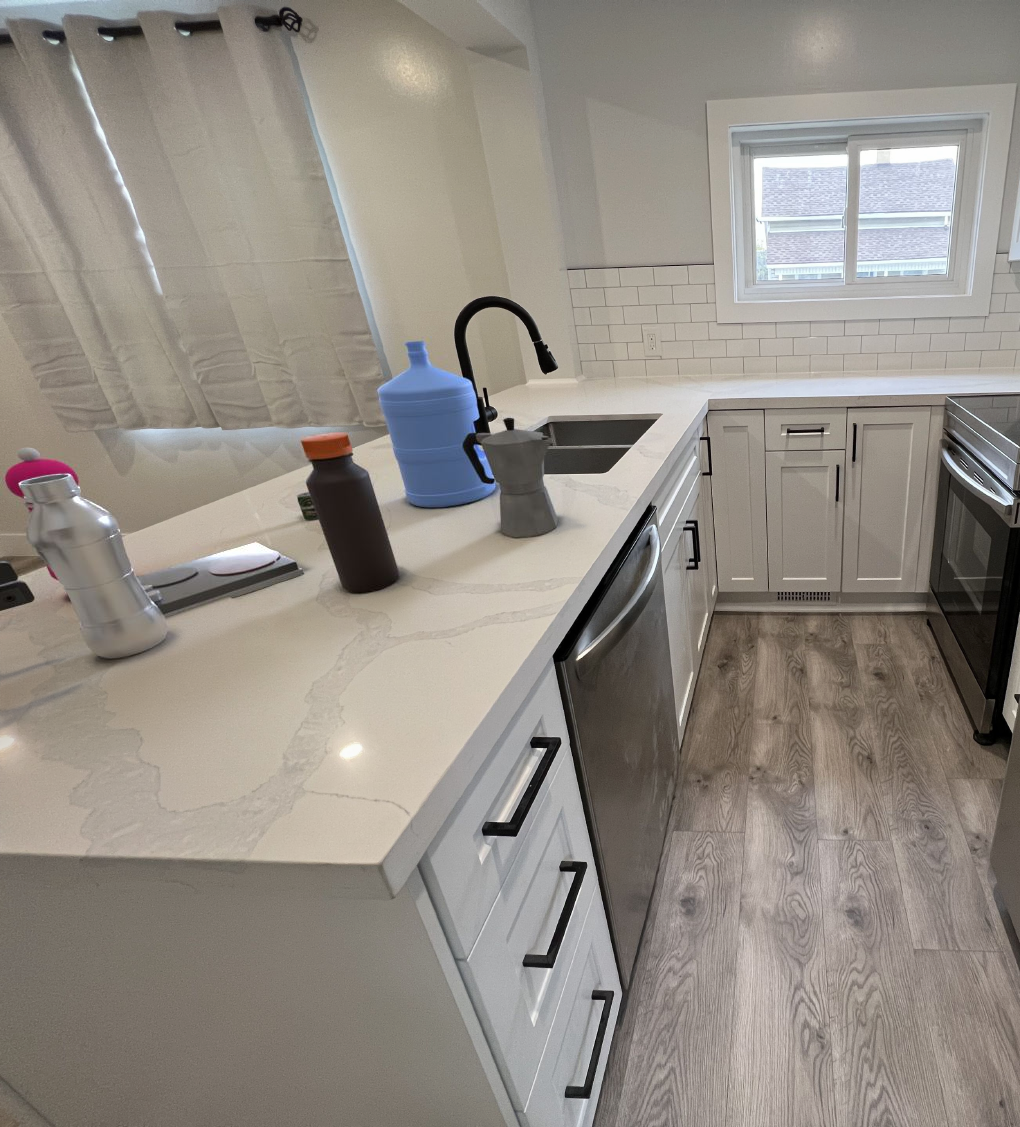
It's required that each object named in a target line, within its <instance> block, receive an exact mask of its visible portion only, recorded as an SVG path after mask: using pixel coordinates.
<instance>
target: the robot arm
mask: <svg viewBox="0 0 1020 1127" xmlns="http://www.w3.org/2000/svg"><path fill="white" fill-rule="evenodd" d="M34 601H35V595H34V594H33V592H32V590H31V589H30V587H29V586H28V583H26V582H25V581H24V580H19V576H18V574H17V572H16V571H15V569H14V568H13V566H12V565H11V563H9V562H8V561H6V560H1V561H0V612H3V611H6V610H10V609H13V608H17V607H20V606H23V605H24V606H25V605H27V604H31V603H32V602H34Z"/></svg>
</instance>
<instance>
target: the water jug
mask: <svg viewBox="0 0 1020 1127" xmlns="http://www.w3.org/2000/svg"><path fill="white" fill-rule="evenodd" d="M404 345H405V346H406V350H407V351H406V354H407V357H408V361H409V367H408V368H407V369H406V370H404V371H403V372H401V373H400V374H398V375H397V376H395V377H393V378H391V379H390V380H388V381H387V382H385V383H384V384H382V385H381V386H379V387H378V389H377V395H378V401H379V406H380V409H381V412H382V414H383V416H384V420H385V423H386V426H387V431H388V433H389V434H388V435H389V437H390V441H391V444H392V450H393V455H394V458H395V460H396V461H397V465H398V469H399V472H400V476H401V479H402V482H403V485H404V493H405V496H406V500H407V501H408V502H409V503H410V504H412V505H414V506H417V507H421V508H428V509H429V508H431V509H432V508H435V509H436V508H449V507H456V506H461V505H465V504H470V503H474V502H477V501H478V500H482V499H484V498H486V497H488V496H490V495H491V494H492V493H493V492H494V491H495V489H496V481H494V483H493V484H485V483H483V482H482V481H481V480H480V478H479V476H478V474H477V473H476V471H475V469H474V467H473V465H472V463H471V462H470V460H469V458H468V456H467V455H466V453H465V451H464V449H463V446H462V445H463V442H464V440H465V438H466V437H467V435H468V434H469V433H476V428H475V423H474V422H475V421H477V420H478V419H479V418H480V413H479V408H478V400H477V396H476V392H475V390H474V386H473V382H472V381H471V380H470V379H469V378H467V377H463V376H461V375H458V374H456V373H452V372H449V371H447V370H444V369H441V368H438V367H435V366H433V365H432V364H431V362H430V359H429V356H428V355H429V353H428V350H427V349H426V346H425V345H426V342H425V341H424V340H423V341H422V340H420V341H418V340H417V341H416V340H415V341H406V342H404ZM474 448H475V450H476V452H477V455H478V457H479V460H480V462H481V463H482V465H483V466H484V469H485V474H486V476H487V477H489V478H494V476H493V473H492V471H491V468H490V466H489V463H488V461H487V458H486V455H485V453H484V450H483V449H482V448H480V445H474Z"/></svg>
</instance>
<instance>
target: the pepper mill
mask: <svg viewBox="0 0 1020 1127" xmlns="http://www.w3.org/2000/svg"><path fill="white" fill-rule="evenodd" d="M17 457H18V458H19V459H20V460H21V462H18V463H16V464H13V465H12V466H10V468H9V469H8V470H7V471H6V472H5V476H4V480H5V485H6V487H7V489H8V490H9V492H11V494H14V495H15V496H17V497H18V498H21V499H23V500H25V498H24V497H25V495H24V493H23V492H22V490H21V488H20V487H19V484H18V483H20V482H22V481H25V480H28V479H32V478H37V477H42V476H48V475H56V474H71V476H72V477H73V479H74V480H75V482H76V484H77V486H79V477H78V475H77V473H76V471H75V470H74V469H73V468H72V467H71V466H70V465H68V464H66V463H64V462H62V461H60V460H57V459H50V458H41V454H40V452H39V451H38V450H37V449H36V448H33V447H27V446H26V447H22V448H20V449H19V450H18V451H17ZM79 495H80V496H81V497H82V493H79ZM23 505H24V507H25V508H27V510H28V514H31V512H32V510H33V508H34V506H33V503H29V502H27V501H25V502H24V504H23ZM45 564H46V563H45ZM45 566H46V568H47V571H48V573H49V576H50V577H51V578H53V579H54V580H56V581H58V582H59V580H58V579H57V577H56V576H55V574H54V573H53V571H52V570H51V569H50V568H49V566H48V565H47V564H46V565H45Z"/></svg>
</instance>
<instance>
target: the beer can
mask: <svg viewBox="0 0 1020 1127" xmlns="http://www.w3.org/2000/svg"><path fill="white" fill-rule="evenodd" d="M296 498H297V503H298V505H299V509H300V511H301V513H302V514H301V515H302V516H303V519H304V520H306V521H315V520H319V519H318V516H317V514H316V511H315V508H314V505H313V502H312V499H311V497H310V494H309V491H308V492H302V493H299V494H297V495H296Z"/></svg>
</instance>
